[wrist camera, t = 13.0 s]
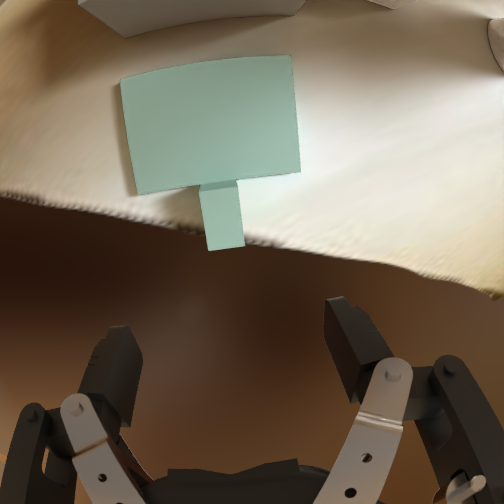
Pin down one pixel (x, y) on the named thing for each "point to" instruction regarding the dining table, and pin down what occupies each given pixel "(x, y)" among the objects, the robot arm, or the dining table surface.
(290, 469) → the robot arm
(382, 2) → the medicine box
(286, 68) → the snap lid
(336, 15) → the dining table surface
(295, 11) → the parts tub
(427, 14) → the dining table surface
